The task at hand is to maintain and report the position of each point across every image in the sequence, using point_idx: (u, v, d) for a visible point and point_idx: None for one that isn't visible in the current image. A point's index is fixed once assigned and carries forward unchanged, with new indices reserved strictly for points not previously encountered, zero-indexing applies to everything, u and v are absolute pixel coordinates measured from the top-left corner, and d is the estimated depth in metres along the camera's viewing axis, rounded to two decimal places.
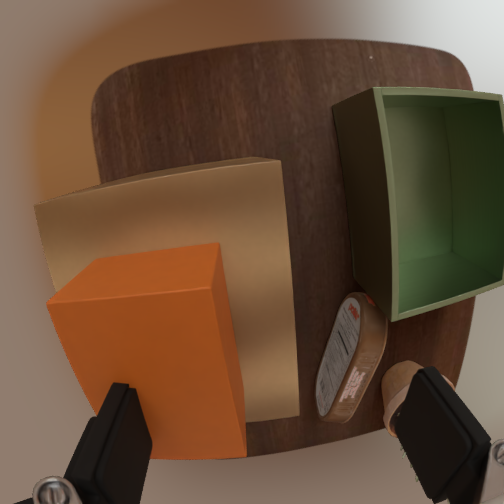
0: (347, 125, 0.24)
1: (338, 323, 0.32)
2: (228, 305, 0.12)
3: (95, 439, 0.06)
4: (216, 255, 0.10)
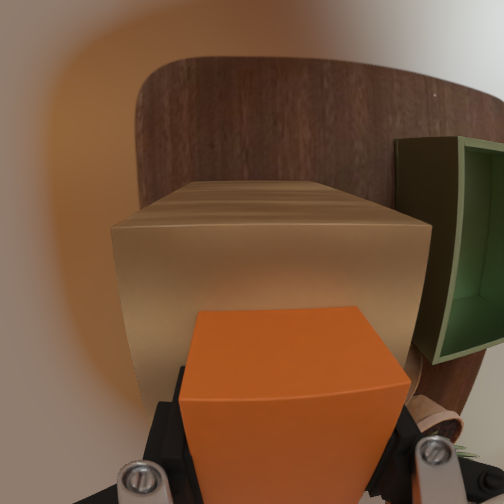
0: (413, 164, 0.23)
1: None
2: None
3: (177, 419, 0.07)
4: (373, 328, 0.08)
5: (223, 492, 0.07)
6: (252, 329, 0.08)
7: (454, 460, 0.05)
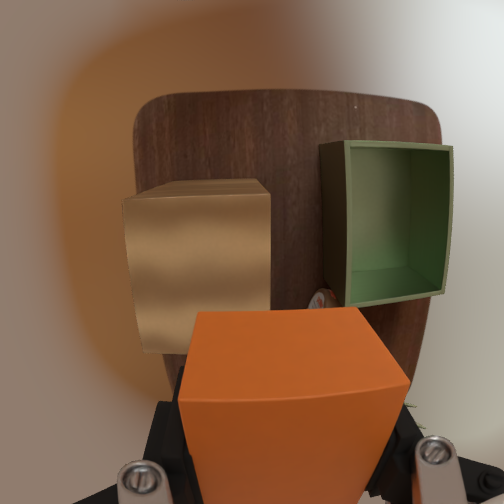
0: (327, 162, 0.34)
1: None
2: None
3: (177, 419, 0.07)
4: (372, 329, 0.08)
5: (222, 492, 0.07)
6: (251, 330, 0.08)
7: (454, 460, 0.05)
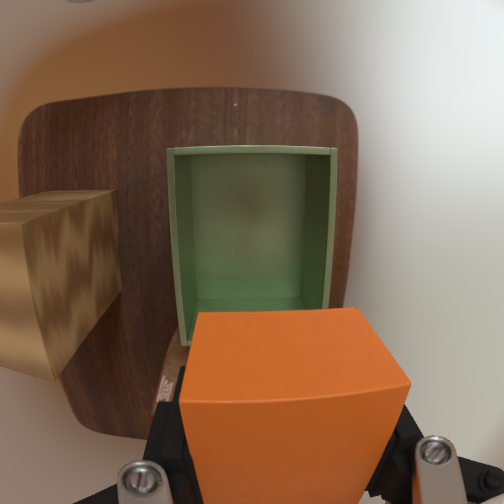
0: None
1: None
2: None
3: (177, 419, 0.07)
4: (373, 330, 0.08)
5: (222, 493, 0.07)
6: (252, 330, 0.08)
7: (454, 460, 0.05)
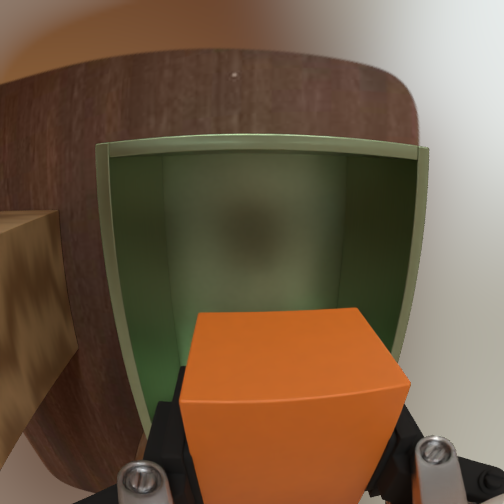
0: None
1: None
2: None
3: (177, 419, 0.07)
4: (373, 330, 0.08)
5: (223, 493, 0.07)
6: (252, 331, 0.08)
7: (454, 460, 0.05)
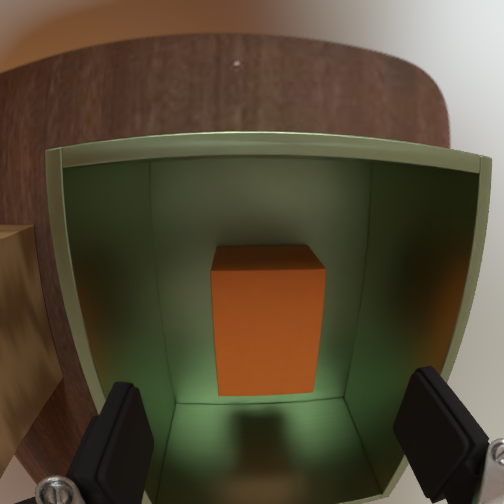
0: None
1: None
2: None
3: (98, 438, 0.06)
4: (313, 253, 0.16)
5: (228, 348, 0.14)
6: (246, 251, 0.16)
7: None
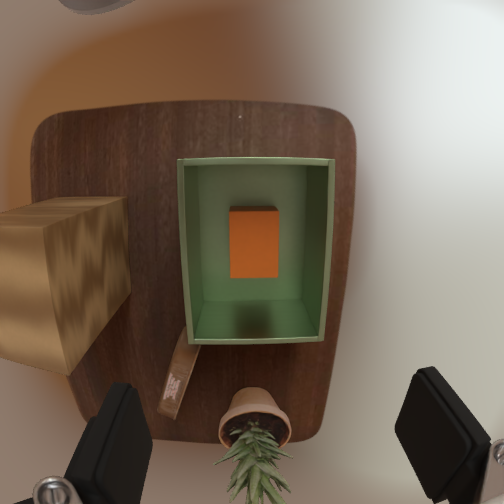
0: None
1: None
2: None
3: (95, 439, 0.06)
4: None
5: (236, 249, 0.33)
6: (244, 207, 0.34)
7: None
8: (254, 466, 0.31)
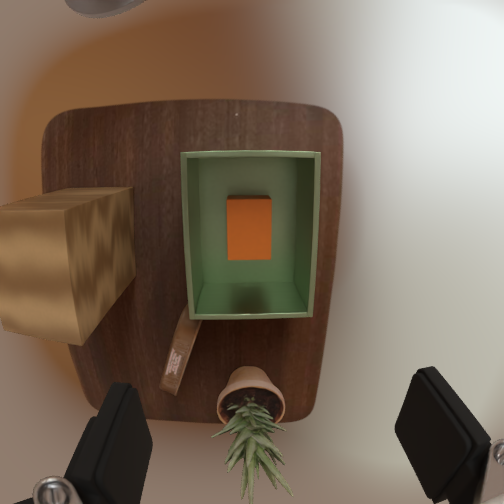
0: None
1: None
2: None
3: (95, 439, 0.06)
4: None
5: (233, 233, 0.36)
6: (240, 196, 0.38)
7: None
8: (250, 438, 0.34)
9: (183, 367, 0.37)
